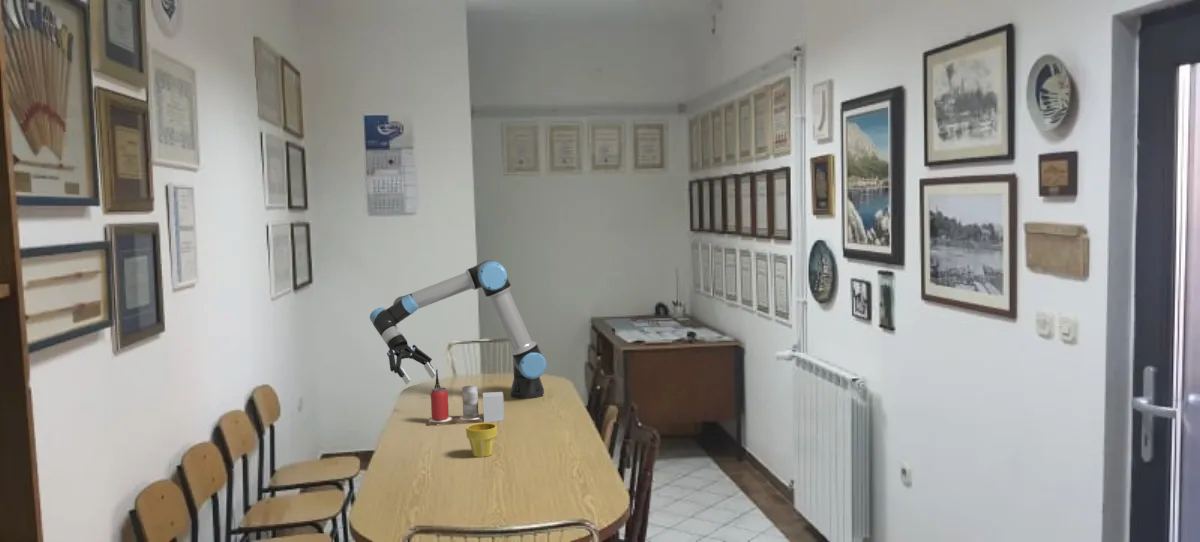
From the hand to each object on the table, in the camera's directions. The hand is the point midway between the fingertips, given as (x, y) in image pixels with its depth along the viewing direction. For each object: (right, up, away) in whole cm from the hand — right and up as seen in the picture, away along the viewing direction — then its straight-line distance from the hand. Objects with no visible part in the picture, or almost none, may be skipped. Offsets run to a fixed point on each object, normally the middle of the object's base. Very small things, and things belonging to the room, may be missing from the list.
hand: (421, 379), depth 347 cm
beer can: (+8, -15, -5) cm, 18 cm away
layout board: (+14, -16, -4) cm, 22 cm away
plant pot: (+32, -19, -53) cm, 65 cm away
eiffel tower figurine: (-3, -14, +48) cm, 50 cm away
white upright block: (+29, -16, -2) cm, 33 cm away
